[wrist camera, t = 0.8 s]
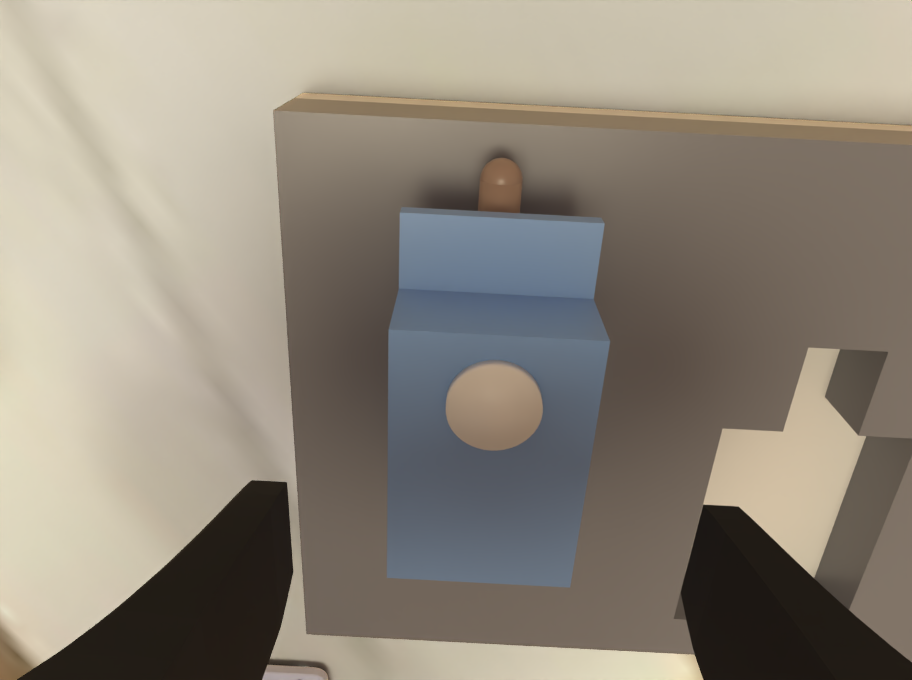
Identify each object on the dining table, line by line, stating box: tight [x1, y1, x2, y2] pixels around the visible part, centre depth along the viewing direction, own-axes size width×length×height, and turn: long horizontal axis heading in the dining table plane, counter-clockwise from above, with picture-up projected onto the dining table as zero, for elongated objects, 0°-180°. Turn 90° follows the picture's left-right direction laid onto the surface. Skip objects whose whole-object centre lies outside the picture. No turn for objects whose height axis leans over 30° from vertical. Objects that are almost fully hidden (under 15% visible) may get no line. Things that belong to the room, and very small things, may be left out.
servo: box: [387, 158, 610, 588], centre depth 16 cm, size 4×10×5 cm, turn 177°
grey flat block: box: [273, 93, 912, 662], centre depth 20 cm, size 22×16×3 cm
